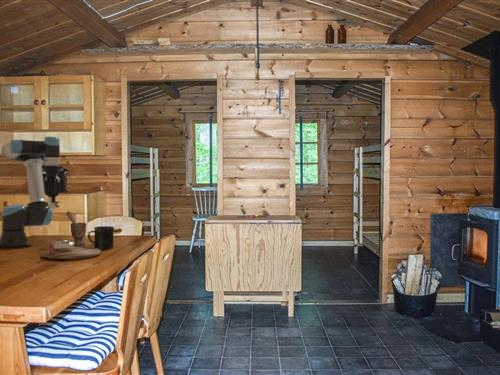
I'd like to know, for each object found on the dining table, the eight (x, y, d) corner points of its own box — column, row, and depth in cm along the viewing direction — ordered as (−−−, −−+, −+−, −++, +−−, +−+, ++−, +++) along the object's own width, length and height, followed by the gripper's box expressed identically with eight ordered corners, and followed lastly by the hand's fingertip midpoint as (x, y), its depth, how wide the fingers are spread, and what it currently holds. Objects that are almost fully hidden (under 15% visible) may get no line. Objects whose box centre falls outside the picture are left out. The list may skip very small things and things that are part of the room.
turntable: (31, 254, 229) (31, 240, 229) (78, 247, 253) (78, 234, 253) (65, 261, 214) (65, 246, 214) (112, 252, 238) (112, 239, 238)
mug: (111, 249, 251) (112, 228, 251) (85, 249, 250) (85, 228, 250) (116, 246, 262) (116, 226, 262) (90, 246, 261) (90, 226, 260)
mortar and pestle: (63, 246, 259) (63, 212, 258) (66, 244, 267) (66, 210, 266) (84, 246, 261) (84, 212, 260) (87, 243, 269) (87, 210, 269)
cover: (50, 250, 236) (50, 240, 236) (66, 247, 244) (66, 238, 244) (61, 252, 230) (61, 242, 230) (78, 249, 239) (78, 240, 239)
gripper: (38, 165, 242) (38, 208, 243) (53, 165, 235) (52, 210, 236) (51, 165, 248) (51, 207, 249) (65, 165, 241) (65, 209, 242)
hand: (52, 208), depth 242 cm, fingers closed
